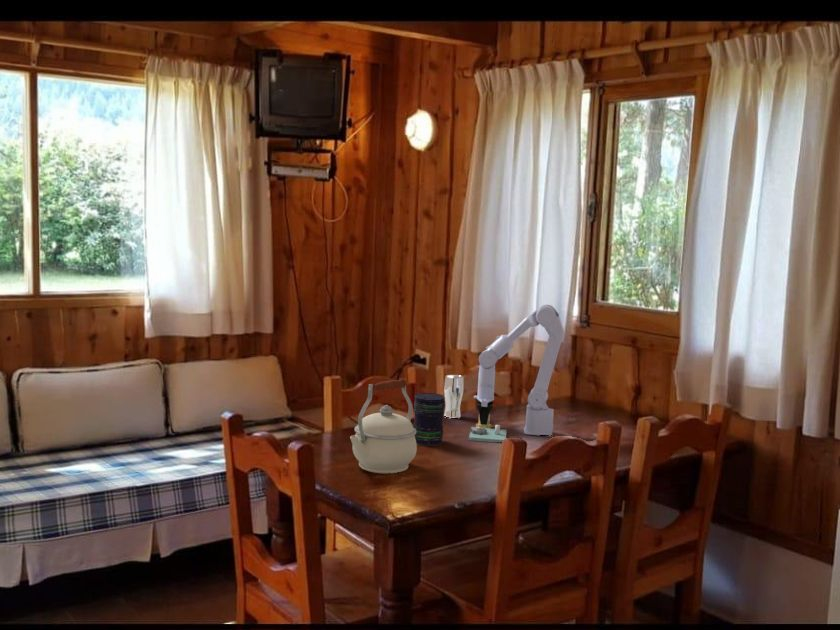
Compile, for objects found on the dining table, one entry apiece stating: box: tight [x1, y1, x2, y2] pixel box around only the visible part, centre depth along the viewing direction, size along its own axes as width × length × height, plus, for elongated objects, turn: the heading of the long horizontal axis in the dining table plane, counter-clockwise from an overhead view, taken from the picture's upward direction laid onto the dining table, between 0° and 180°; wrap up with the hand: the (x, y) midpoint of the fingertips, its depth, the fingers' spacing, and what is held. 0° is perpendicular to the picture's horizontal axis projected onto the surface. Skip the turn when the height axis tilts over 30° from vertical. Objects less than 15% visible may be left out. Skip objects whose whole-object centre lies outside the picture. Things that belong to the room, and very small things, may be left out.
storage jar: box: [412, 392, 446, 447], centre depth 265 cm, size 10×10×15 cm
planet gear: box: [475, 412, 492, 429], centre depth 288 cm, size 5×5×5 cm
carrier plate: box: [468, 424, 507, 443], centre depth 276 cm, size 12×14×4 cm
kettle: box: [349, 377, 418, 475], centre depth 234 cm, size 25×18×25 cm
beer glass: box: [443, 374, 465, 419], centre depth 301 cm, size 7×7×15 cm
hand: (483, 422), depth 288 cm, fingers closed on planet gear, 4 cm apart
